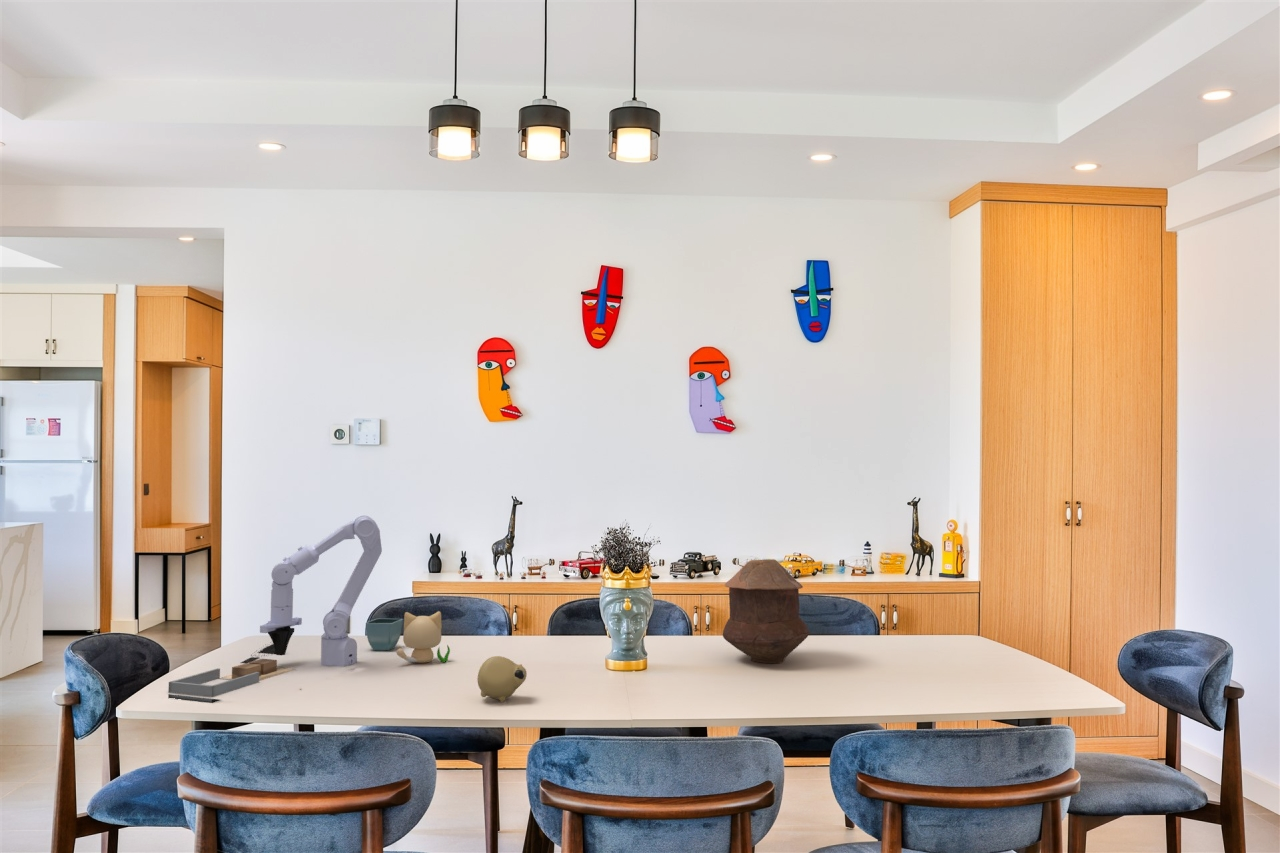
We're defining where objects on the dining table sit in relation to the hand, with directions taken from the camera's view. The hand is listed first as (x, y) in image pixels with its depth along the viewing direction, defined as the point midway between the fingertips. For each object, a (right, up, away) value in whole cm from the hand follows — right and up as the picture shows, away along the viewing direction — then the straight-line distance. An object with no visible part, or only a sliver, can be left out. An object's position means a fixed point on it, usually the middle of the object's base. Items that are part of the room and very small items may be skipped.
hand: (280, 654), depth 247 cm
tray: (-7, -4, -23) cm, 24 cm away
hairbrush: (-12, -6, +13) cm, 18 cm away
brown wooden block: (-2, -3, -7) cm, 8 cm away
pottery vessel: (+138, -6, +16) cm, 139 cm away
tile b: (-4, -3, -12) cm, 13 cm away
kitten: (+37, -6, +13) cm, 40 cm away
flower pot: (+20, -7, +31) cm, 38 cm away
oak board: (-3, -5, -8) cm, 10 cm away
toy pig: (+67, -4, -29) cm, 73 cm away
